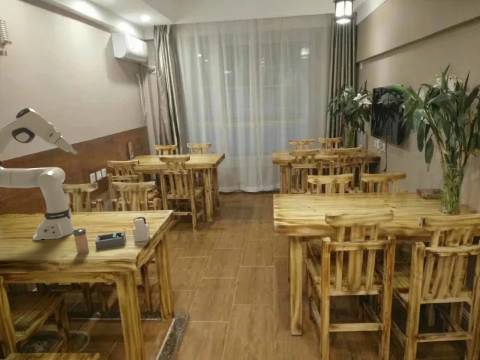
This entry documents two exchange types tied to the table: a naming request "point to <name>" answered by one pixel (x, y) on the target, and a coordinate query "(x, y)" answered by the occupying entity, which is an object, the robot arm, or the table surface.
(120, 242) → the grey rectangular box
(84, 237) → the terracotta jar
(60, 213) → the robot arm
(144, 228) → the medicine bottle
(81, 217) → the table surface
